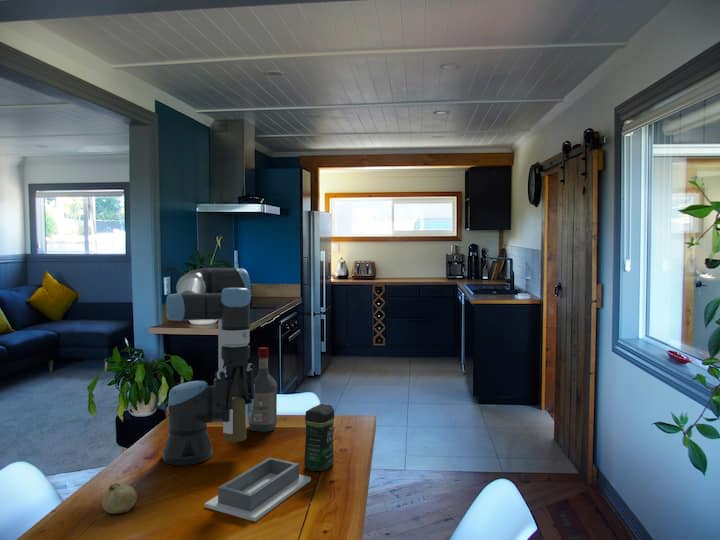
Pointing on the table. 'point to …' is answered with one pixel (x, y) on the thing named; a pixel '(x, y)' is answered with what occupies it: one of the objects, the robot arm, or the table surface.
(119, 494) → the onion
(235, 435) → the cork
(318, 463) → the coffee jar
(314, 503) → the table surface
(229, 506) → the slot well
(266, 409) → the liquor
